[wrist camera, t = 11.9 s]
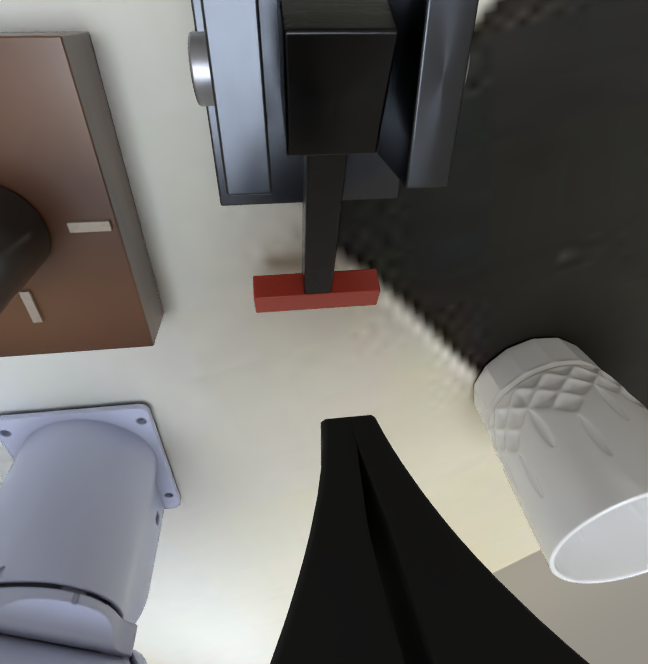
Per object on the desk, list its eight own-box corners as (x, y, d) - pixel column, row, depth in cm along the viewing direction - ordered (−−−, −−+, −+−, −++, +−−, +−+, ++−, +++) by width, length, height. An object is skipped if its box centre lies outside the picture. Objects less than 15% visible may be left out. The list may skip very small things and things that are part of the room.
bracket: (391, 188, 18) (466, 290, 12) (222, 195, 18) (201, 307, 11) (423, -164, 12) (615, -364, 6) (170, -173, 12) (55, -412, 5)
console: (164, 313, 21) (153, 348, 18) (-17, 325, 20) (-50, 363, 18) (89, 31, 14) (58, 35, 12) (-185, 33, 13) (-270, 37, 11)
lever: (369, 271, 19) (379, 318, 18) (254, 278, 19) (256, 327, 17) (443, -32, 9) (473, 29, 8) (206, -34, 9) (204, 31, 8)
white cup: (500, 318, 23) (627, 479, 15) (618, 337, 25) (785, 488, 17) (442, 419, 28) (516, 585, 20) (546, 428, 29) (652, 583, 22)
